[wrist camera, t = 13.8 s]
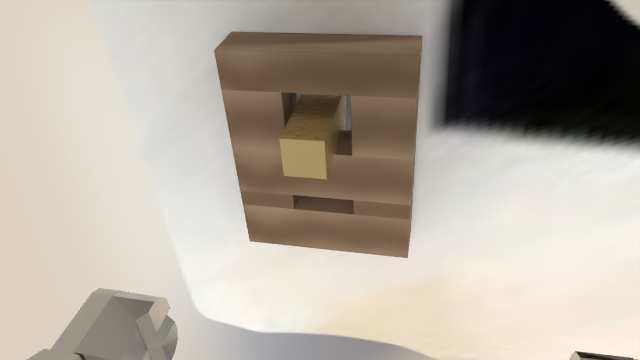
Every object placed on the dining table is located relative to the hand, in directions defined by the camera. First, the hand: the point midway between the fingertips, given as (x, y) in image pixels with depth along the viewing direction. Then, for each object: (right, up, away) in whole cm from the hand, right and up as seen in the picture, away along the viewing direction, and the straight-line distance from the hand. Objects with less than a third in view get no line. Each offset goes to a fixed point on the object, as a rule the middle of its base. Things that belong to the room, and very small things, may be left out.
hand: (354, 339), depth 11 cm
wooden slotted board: (0, +6, +32) cm, 33 cm away
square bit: (0, +9, +30) cm, 32 cm away
